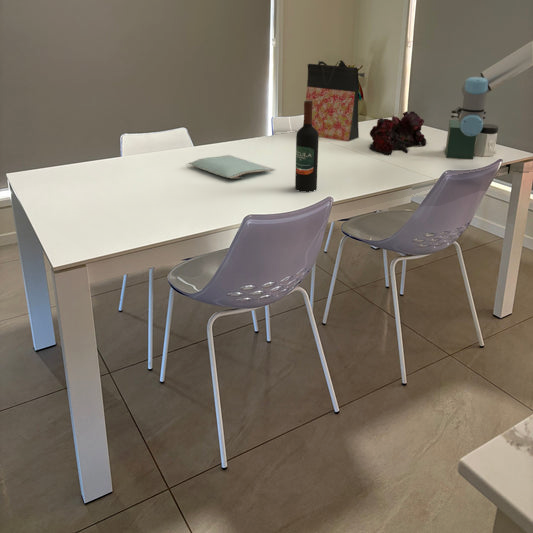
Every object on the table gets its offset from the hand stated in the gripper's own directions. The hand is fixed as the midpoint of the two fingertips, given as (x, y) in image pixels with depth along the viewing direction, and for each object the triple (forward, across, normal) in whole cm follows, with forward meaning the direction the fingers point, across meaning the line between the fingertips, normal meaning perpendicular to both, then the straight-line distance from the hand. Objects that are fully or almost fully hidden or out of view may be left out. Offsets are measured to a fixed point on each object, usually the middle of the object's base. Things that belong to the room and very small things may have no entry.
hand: (466, 107), depth 240 cm
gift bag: (+23, -57, -20) cm, 65 cm away
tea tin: (+2, 0, -20) cm, 20 cm away
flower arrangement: (+9, -27, -20) cm, 35 cm away
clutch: (-45, -87, -20) cm, 100 cm away
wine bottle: (-61, -54, -20) cm, 84 cm away
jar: (+5, +10, -20) cm, 23 cm away
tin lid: (+2, 0, -8) cm, 8 cm away
